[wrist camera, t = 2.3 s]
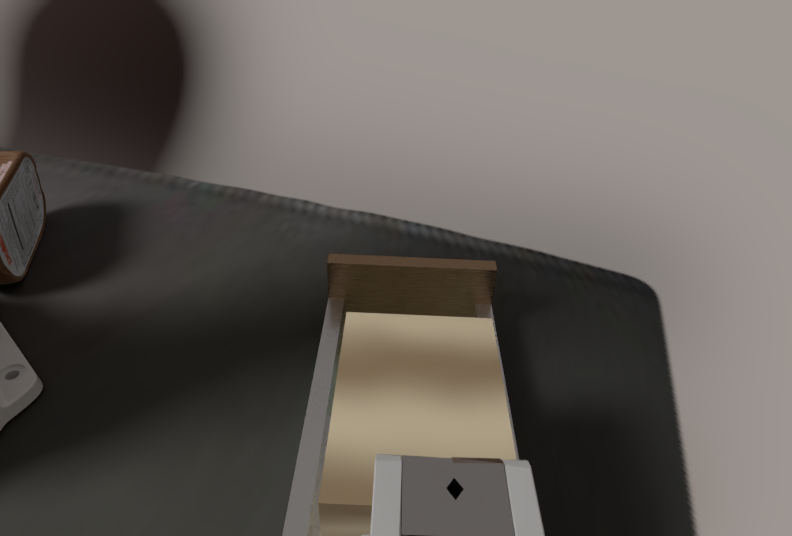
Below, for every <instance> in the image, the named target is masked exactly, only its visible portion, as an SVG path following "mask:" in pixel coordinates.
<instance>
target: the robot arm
mask: <svg viewBox="0 0 792 536" xmlns="http://www.w3.org/2000/svg"><path fill="white" fill-rule="evenodd" d="M42 389H43V384H42V382H41V380H40V379H39V377H38V376H37V374H36V373H35V371H34V370H33V369H32V367H31V366H30V364H29V363H28V361H27V360H26V358H25V357H24V355H23V354H22V352H21V351H20V350H19V348H18V347H17V345H16V344H15V342H14V341H13V339H12V338H11V336H10V335H9V334H8V332H7V331H6V329H5V328H4V326H3V325H2V323H1V322H0V430H1V429H2V428H3V427H4V425H5V424H6V423H7V422H8V421H9V420H11V419H12V418H13V417H14V416H16V415H17V414H18V413H19V412H21V411H22V410H23V409H24V408H26V407H27V406H28V405H29V404H30V403H31V402H33V401H34V400H35V399H36V398H37V397H38V395H39V394H40V393H41V391H42ZM362 536H545V533H544V528H543V523H542V518H541V513H540V508H539V503H538V498H537V493H536V489H535V484H534V479H533V474H532V469H531V465H530V464H529V462H528V461H527V460H501V459H500V458H462V457H451V458H442V457H425V456H408V455H402V457H401V455H393V454H376V458H375V466H374V482H373V498H372V514H371V529H370V534H363V535H362Z"/></svg>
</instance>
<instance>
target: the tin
mask: <svg viewBox="0 0 792 536" xmlns="http://www.w3.org/2000/svg"><path fill="white" fill-rule="evenodd" d="M45 223H46V203H45V196H44V193H43V191H42V188H41V184H40V180H39V177H38V173H37V170H36V163H35V161H34V159H33V158H32V156H31V155H29V154H28V153H26V152H22V151H0V285H3V284H13V283H17V282H19V281H21V280H22V279H23V278H24V277H25V275H26V273H27V271H28V268H29V266H30V264H31V261H32V259H33V257H34V254H35V252H36V249H37V247H38V245H39V242H40V240H41V237H42V235H43V232H44V229H45Z"/></svg>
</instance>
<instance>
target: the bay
mask: <svg viewBox="0 0 792 536" xmlns="http://www.w3.org/2000/svg"><path fill="white" fill-rule="evenodd" d="M327 269H328V294H329V298H328V303H327V308H326V313H325V319H324V324H323V329H322V334H321V339H320V344H319V349H318V355H317V360H316V365H315V370H314V375H313V380H312V385H311V391H310V396H309V401H308V406H307V411H306V416H305V421H304V427H303V432H302V437H301V442H300V447H299V452H298V457H297V463H296V468H295V473H294V478H293V483H292V488H291V493H290V499H289V504H288V509H287V514H286V519H285V524H284V530H283V535H282V536H321V535H320V521H319V508H318V501H319V494H320V487H321V480H322V474H323V467H324V460H325V453H326V447H327V440H328V433H329V426H330V420H331V413H332V406H333V399H334V393H335V386H336V379H337V372H338V366H339V359H340V352H341V345H342V339H343V332H344V325H345V318H346V312H358V313H381V314H404V315H426V316H449V317H472V318H492V321H493V327H494V333H495V338H496V344H497V350H498V355H499V361H500V367H501V373H502V378H503V384H504V390H505V395H506V401H507V407H508V412H509V418H510V424H511V430H512V435H513V441H514V447H515V452H516V458H517V460H519V455H518V450H517V444H516V439H515V433H514V427H513V422H512V416H511V411H510V405H509V400H508V394H507V389H506V383H505V377H504V372H503V366H502V361H501V355H500V350H499V344H498V338H497V333H496V327H495V322H494V316H493V311H492V305H491V304H492V298H493V292H494V287H495V281H496V275H497V266H496V262H495V261H484V260H461V259H439V258H416V257H394V256H371V255H349V254H329V257H328V262H327Z"/></svg>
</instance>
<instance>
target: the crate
mask: <svg viewBox="0 0 792 536" xmlns="http://www.w3.org/2000/svg"><path fill="white" fill-rule="evenodd" d="M376 454H393V455H401V457H402V455H408V456H425V457H442V458H451V457H462V458H500V459H501V460H517V458H516V452H515V447H514V441H513V435H512V430H511V424H510V418H509V412H508V407H507V401H506V395H505V390H504V384H503V378H502V373H501V367H500V361H499V355H498V350H497V344H496V338H495V333H494V327H493V321H492V318H472V317H449V316H426V315H404V314H381V313H358V312H346V318H345V325H344V332H343V339H342V345H341V352H340V359H339V366H338V372H337V379H336V386H335V393H334V399H333V406H332V413H331V420H330V426H329V433H328V440H327V447H326V453H325V460H324V467H323V474H322V480H321V487H320V494H319V501H318V508H319V521H320V535H321V536H362V535H363V534H370V529H371V514H372V498H373V482H374V466H375V458H376Z"/></svg>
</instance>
